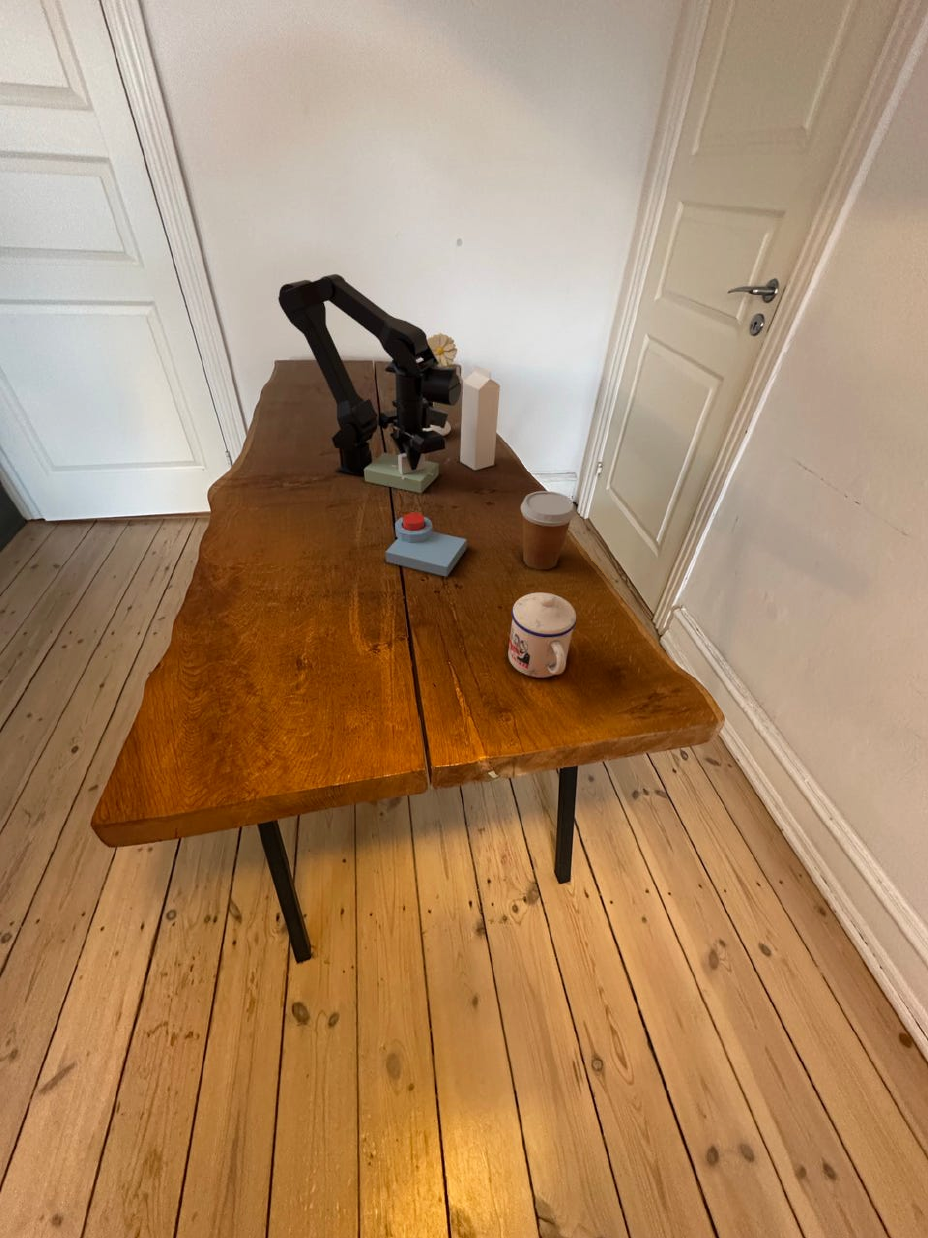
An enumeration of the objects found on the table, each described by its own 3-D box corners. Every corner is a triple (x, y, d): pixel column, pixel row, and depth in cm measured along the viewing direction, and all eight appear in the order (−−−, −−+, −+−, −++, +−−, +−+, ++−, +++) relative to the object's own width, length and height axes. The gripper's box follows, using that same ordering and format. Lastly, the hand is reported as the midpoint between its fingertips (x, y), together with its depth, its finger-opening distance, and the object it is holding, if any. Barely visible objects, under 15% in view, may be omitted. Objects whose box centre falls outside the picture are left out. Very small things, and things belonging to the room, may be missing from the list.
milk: (474, 471, 131) (479, 374, 116) (459, 461, 134) (462, 366, 120) (494, 465, 134) (501, 369, 119) (479, 456, 137) (484, 362, 123)
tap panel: (362, 483, 124) (361, 470, 122) (384, 464, 132) (384, 451, 130) (423, 496, 120) (423, 483, 118) (442, 476, 128) (443, 463, 126)
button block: (378, 560, 100) (377, 541, 98) (405, 530, 109) (405, 512, 106) (446, 577, 97) (447, 558, 95) (469, 545, 105) (469, 527, 103)
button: (399, 529, 102) (399, 520, 101) (408, 519, 105) (408, 511, 104) (419, 533, 101) (419, 525, 100) (427, 523, 104) (427, 515, 103)
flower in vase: (400, 437, 144) (396, 333, 128) (419, 423, 153) (418, 323, 136) (446, 446, 141) (448, 340, 125) (462, 431, 149) (466, 330, 133)
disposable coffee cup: (532, 580, 97) (541, 520, 90) (505, 553, 104) (511, 495, 96) (575, 567, 101) (587, 509, 93) (546, 542, 107) (555, 485, 100)
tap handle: (402, 474, 121) (401, 456, 118) (398, 471, 122) (397, 453, 119) (425, 468, 124) (424, 450, 121) (421, 465, 125) (421, 447, 122)
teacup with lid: (498, 643, 84) (504, 582, 77) (552, 633, 87) (563, 573, 79) (526, 700, 76) (536, 637, 68) (585, 688, 78) (602, 626, 70)
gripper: (468, 403, 111) (465, 475, 121) (419, 378, 122) (420, 446, 132) (421, 413, 105) (422, 487, 115) (374, 386, 117) (379, 456, 127)
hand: (411, 468), depth 122 cm, fingers closed on tap handle, 2 cm apart
